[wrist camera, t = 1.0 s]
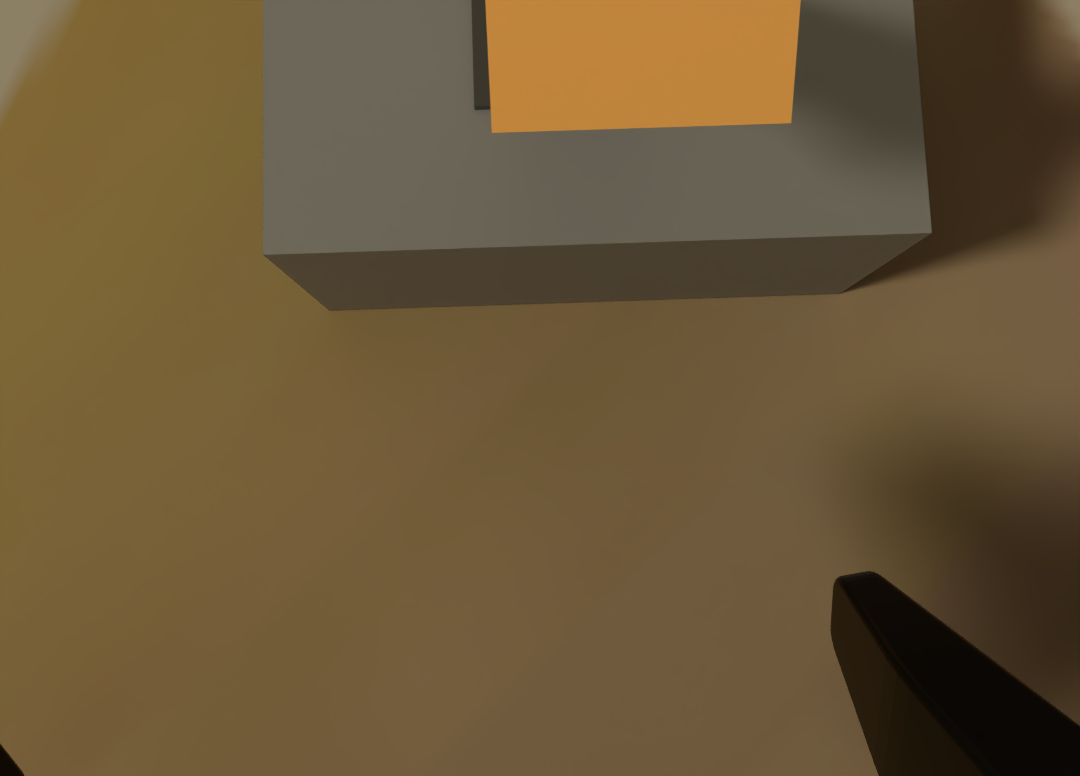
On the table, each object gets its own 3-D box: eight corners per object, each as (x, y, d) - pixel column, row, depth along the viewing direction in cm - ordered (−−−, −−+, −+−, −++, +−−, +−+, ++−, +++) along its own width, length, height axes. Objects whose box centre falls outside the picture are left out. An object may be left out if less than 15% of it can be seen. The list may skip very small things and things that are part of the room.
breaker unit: (839, 293, 25) (936, 230, 19) (329, 310, 25) (260, 252, 19) (814, -55, 26) (898, -221, 20) (326, -39, 26) (260, -201, 20)
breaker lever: (680, 66, 19) (791, 122, 11) (505, 71, 19) (491, 133, 11) (684, -64, 18) (808, -104, 10) (499, -58, 18) (480, -92, 10)
